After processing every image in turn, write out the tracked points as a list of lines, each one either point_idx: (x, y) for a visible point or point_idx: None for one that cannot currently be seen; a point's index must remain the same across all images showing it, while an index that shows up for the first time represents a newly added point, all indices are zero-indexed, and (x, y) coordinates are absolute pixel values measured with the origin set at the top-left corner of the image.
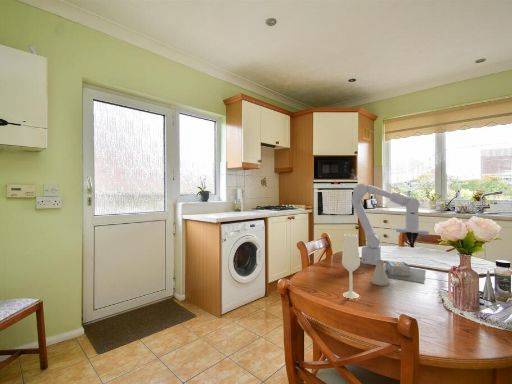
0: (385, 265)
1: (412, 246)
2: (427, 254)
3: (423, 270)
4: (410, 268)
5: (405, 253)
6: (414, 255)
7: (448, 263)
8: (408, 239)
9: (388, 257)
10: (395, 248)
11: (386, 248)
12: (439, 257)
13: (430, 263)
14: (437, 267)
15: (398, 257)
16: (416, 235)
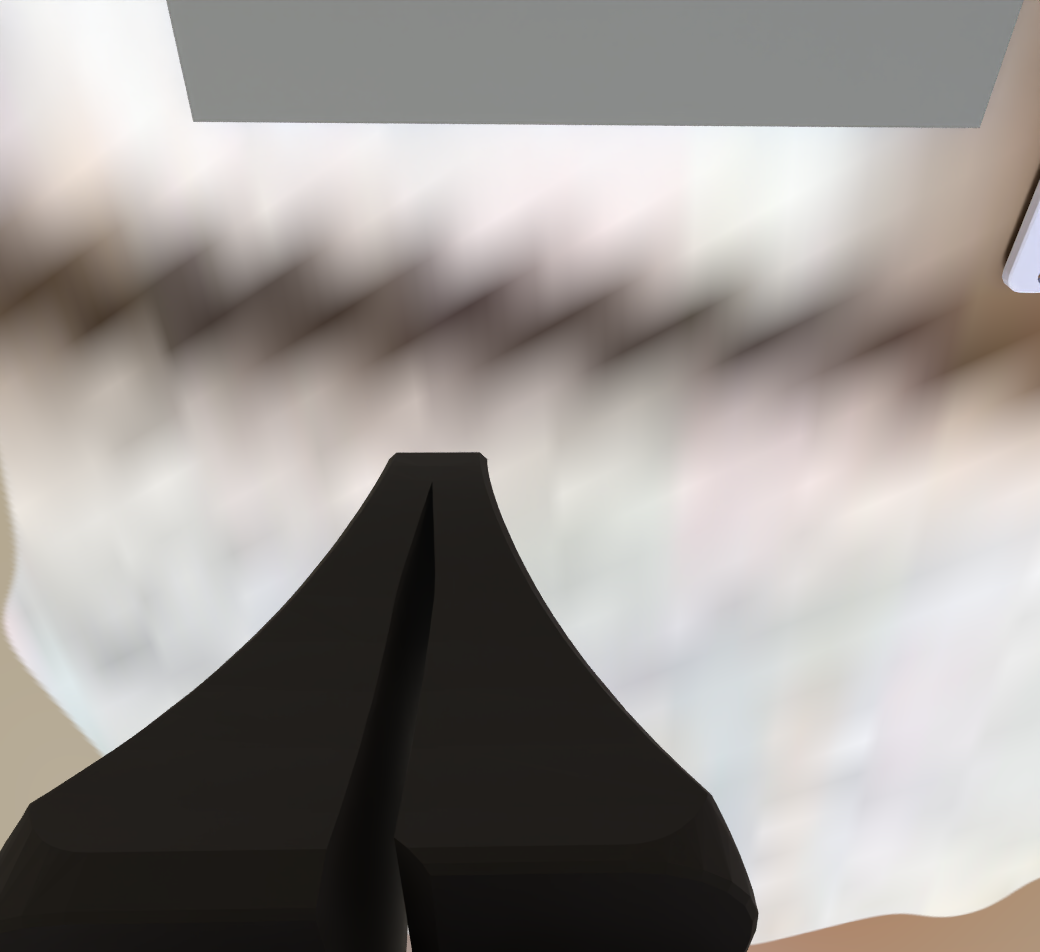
0: (1007, 2)
1: (415, 467)
2: None
3: (218, 52)
4: (476, 62)
5: None
6: None
7: (64, 677)
8: (561, 639)
9: (832, 600)
10: None
11: (807, 893)
12: None
13: (251, 584)
14: (107, 442)
15: (686, 655)
16: (15, 865)
